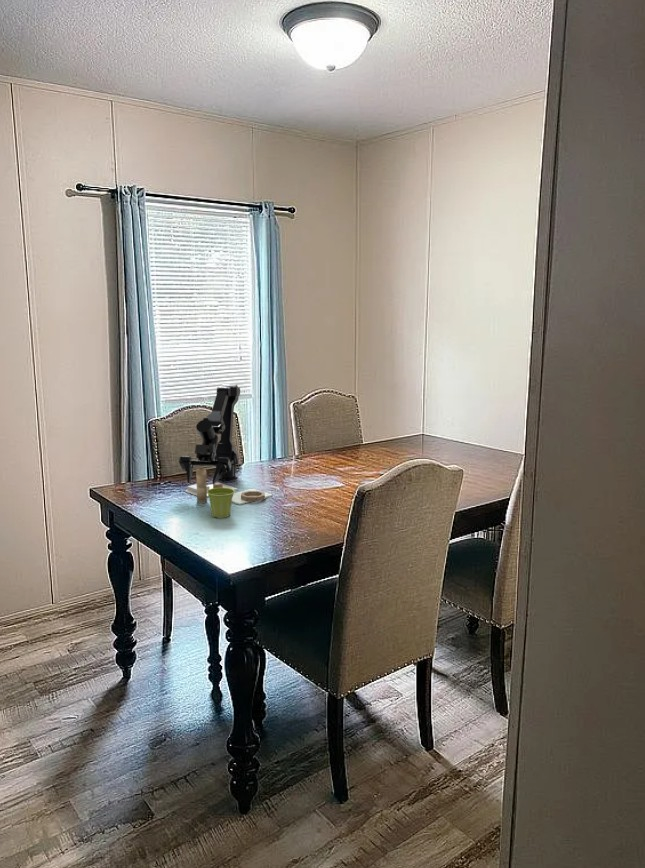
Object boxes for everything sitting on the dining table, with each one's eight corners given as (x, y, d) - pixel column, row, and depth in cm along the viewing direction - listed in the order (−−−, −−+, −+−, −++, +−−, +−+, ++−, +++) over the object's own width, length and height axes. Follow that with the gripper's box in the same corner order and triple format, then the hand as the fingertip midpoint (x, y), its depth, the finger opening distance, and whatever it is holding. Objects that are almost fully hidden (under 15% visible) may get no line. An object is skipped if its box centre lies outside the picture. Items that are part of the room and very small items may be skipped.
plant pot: (231, 510, 237) (230, 486, 235) (237, 518, 228) (237, 493, 226) (204, 512, 233) (204, 488, 232) (210, 521, 225) (209, 496, 223)
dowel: (203, 499, 249) (202, 468, 247) (209, 501, 247) (208, 469, 244) (195, 501, 247) (194, 469, 244) (201, 503, 244) (200, 471, 242)
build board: (252, 490, 262) (252, 484, 262) (276, 497, 252) (276, 492, 252) (219, 498, 251) (219, 492, 250) (243, 506, 241) (243, 500, 241)
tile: (218, 484, 270) (218, 475, 270) (237, 490, 262) (237, 481, 261) (185, 491, 259) (185, 482, 258) (204, 498, 251) (203, 488, 250)
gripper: (179, 434, 248) (170, 470, 239) (228, 436, 245) (221, 472, 237) (186, 451, 257) (178, 486, 248) (234, 452, 254) (227, 488, 246)
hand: (200, 483), depth 244 cm, fingers open, 9 cm apart
